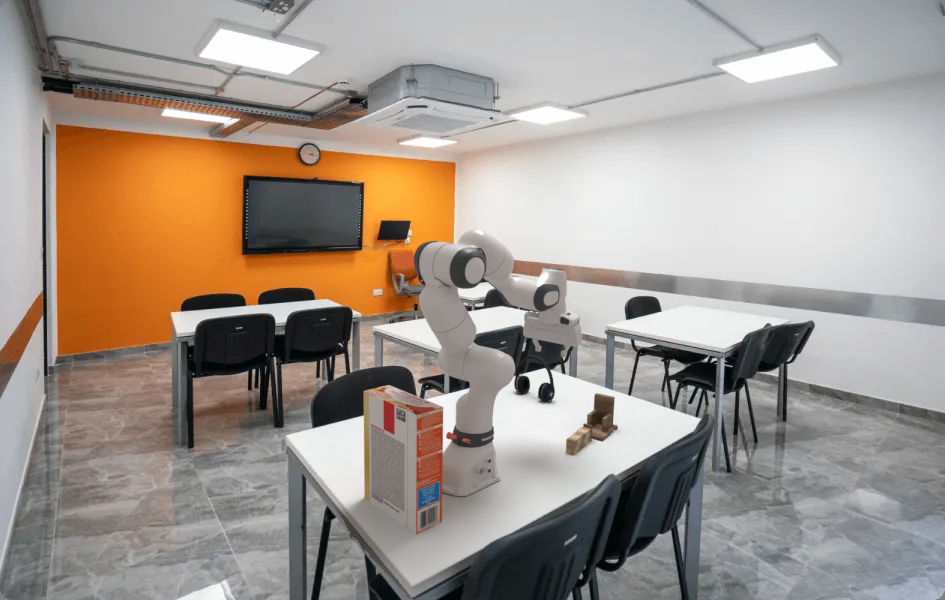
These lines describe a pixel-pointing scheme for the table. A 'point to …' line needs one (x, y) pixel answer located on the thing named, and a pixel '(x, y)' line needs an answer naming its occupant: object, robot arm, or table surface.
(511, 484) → the table surface
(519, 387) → the headphones
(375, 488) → the pasta box
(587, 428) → the bed rail
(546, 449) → the table surface
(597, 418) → the wooden chair
